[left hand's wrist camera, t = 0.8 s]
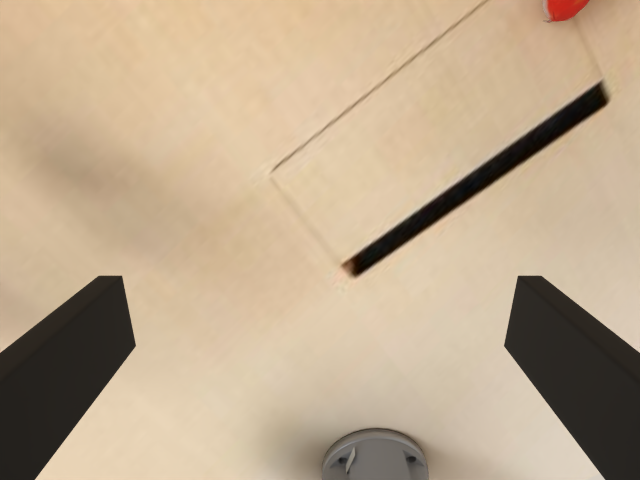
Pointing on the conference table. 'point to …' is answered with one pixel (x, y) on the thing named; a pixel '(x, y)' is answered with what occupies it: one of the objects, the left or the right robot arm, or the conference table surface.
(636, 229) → the conference table surface
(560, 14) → the fish
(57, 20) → the conference table surface
